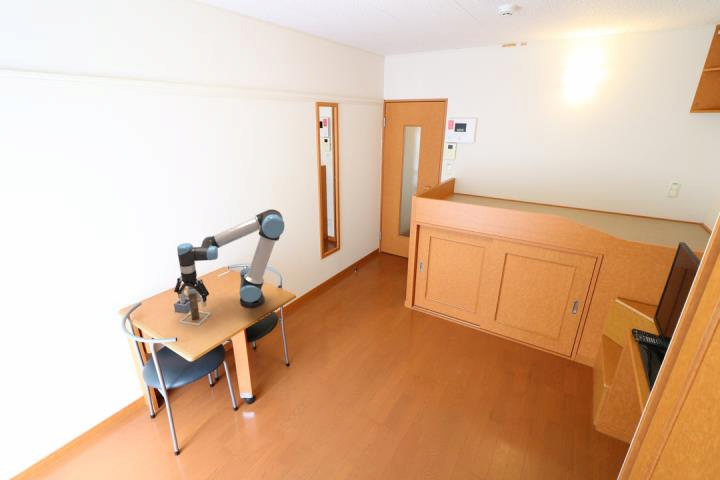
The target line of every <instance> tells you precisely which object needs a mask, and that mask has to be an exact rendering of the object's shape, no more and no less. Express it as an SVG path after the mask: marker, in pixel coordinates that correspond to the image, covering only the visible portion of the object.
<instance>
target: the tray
mask: <svg viewBox="0 0 720 480" xmlns="http://www.w3.org/2000/svg"><path fill="white" fill-rule="evenodd" d="M199 314H200V315H201V314H202V315H206V316H204V318H202V319H201V320H200V321H199V322H198V323H194V322H189V321H185V320H186V319H187V318H189V316H191V311H189V312H188V313H187V314H186V315H185V316H184V317H183V318H182V319H180V320H179V321H178V322H179V324H185V325H189V326H197V327H199V326H200V325H201V324H203V322H205V321H206V319H208V318H209V317H211V315H212V312H208V311H200V310H199Z"/></svg>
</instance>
